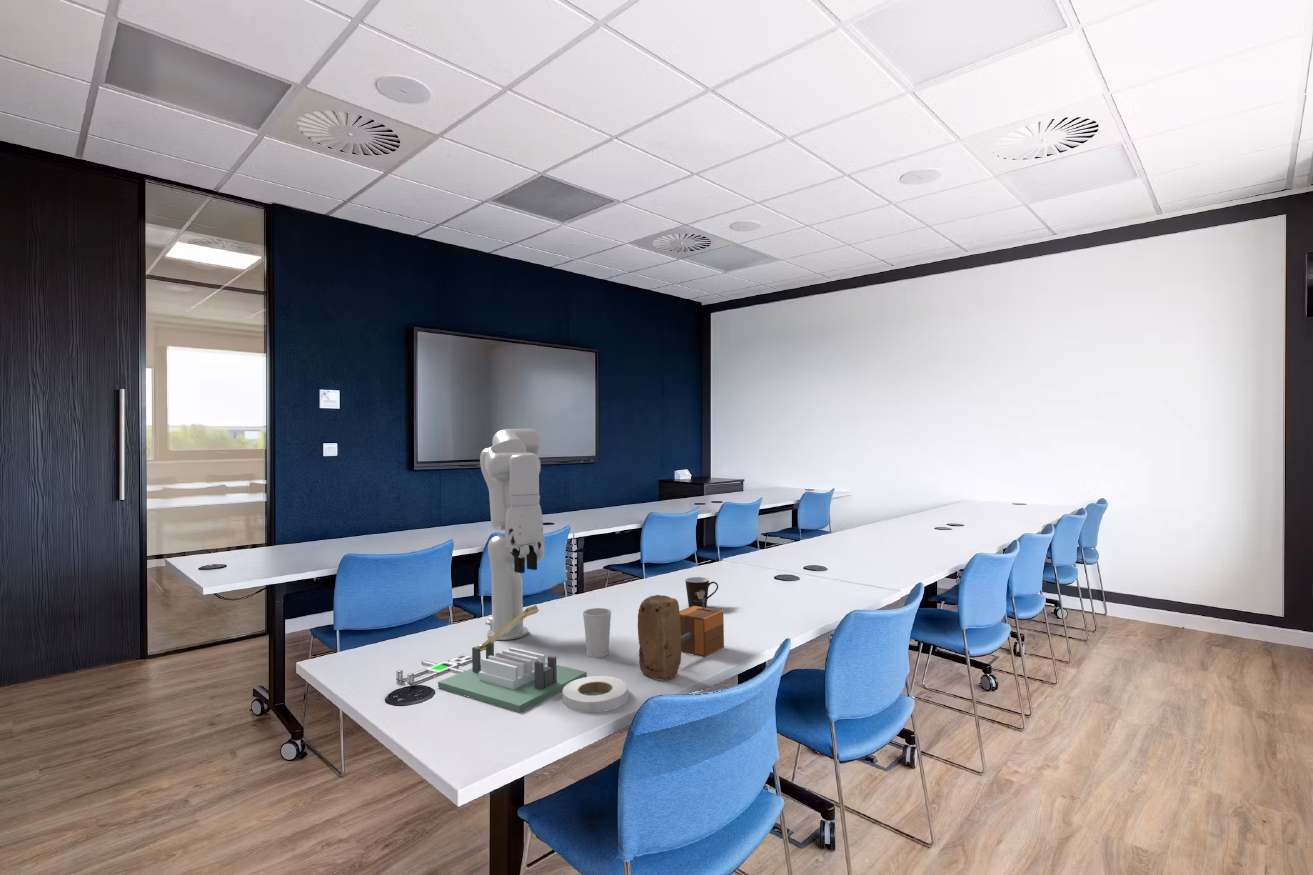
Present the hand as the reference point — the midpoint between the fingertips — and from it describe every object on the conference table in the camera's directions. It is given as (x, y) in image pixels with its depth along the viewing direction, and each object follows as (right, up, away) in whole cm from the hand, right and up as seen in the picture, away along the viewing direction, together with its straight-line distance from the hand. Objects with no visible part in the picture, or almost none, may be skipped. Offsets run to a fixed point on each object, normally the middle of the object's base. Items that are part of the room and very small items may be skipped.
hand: (525, 570), depth 167 cm
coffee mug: (+51, -27, +63) cm, 85 cm away
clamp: (+44, -27, +14) cm, 53 cm away
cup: (+17, -27, +15) cm, 36 cm away
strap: (-4, -15, -5) cm, 16 cm away
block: (+35, -27, -2) cm, 44 cm away
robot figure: (-24, -28, +4) cm, 38 cm away
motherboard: (-2, -27, -6) cm, 28 cm away
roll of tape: (+20, -27, -16) cm, 38 cm away
